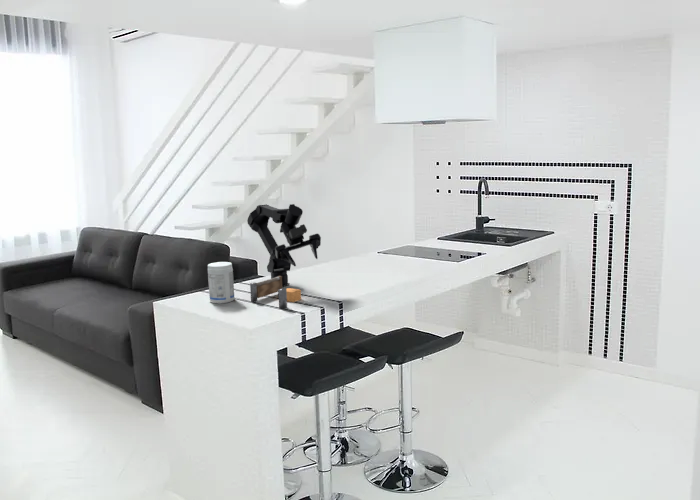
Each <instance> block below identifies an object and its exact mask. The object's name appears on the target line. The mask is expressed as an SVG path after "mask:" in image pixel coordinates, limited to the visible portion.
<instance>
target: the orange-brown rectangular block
mask: <svg viewBox="0 0 700 500" xmlns="http://www.w3.org/2000/svg"><path fill="white" fill-rule="evenodd" d="M285 289H286V290H287V302H290V303H295V302H297V301H300V300H302V290H301V289H298V288H293V287H291V288H290V287H288V288H285Z"/></svg>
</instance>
